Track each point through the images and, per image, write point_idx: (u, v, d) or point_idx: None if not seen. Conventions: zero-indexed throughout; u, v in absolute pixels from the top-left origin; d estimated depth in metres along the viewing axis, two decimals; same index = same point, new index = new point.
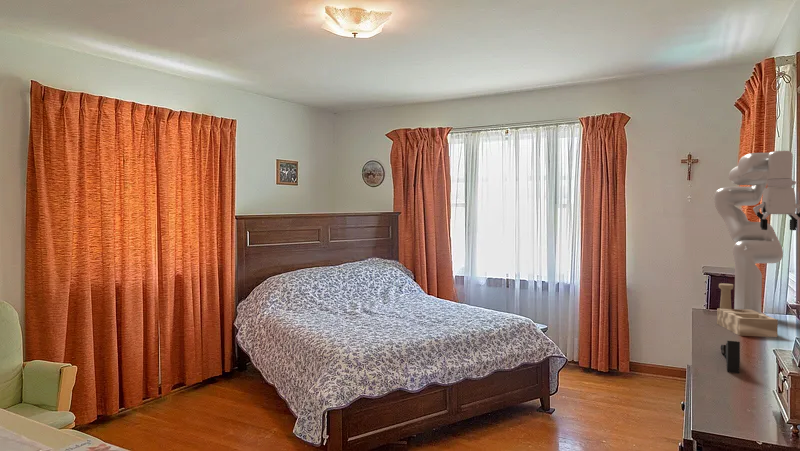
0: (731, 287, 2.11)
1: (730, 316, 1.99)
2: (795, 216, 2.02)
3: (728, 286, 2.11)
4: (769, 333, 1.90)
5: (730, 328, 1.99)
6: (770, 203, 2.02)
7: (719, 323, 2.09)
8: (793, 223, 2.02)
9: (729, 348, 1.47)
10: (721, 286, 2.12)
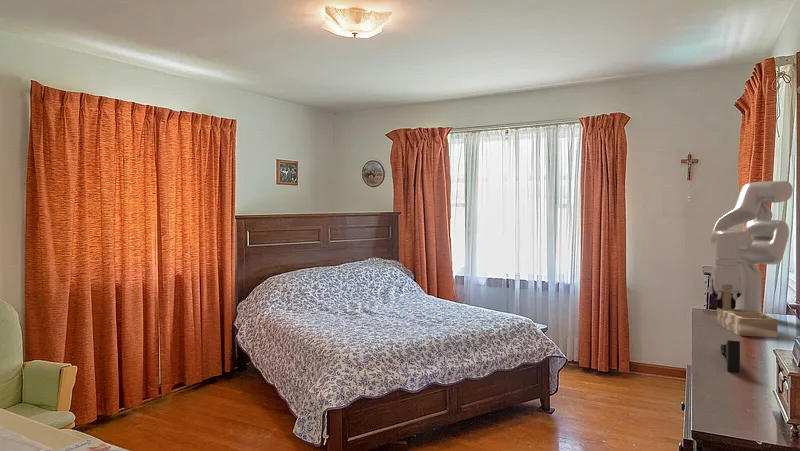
0: (731, 287, 2.11)
1: (730, 316, 1.99)
2: (734, 296, 2.12)
3: (728, 286, 2.11)
4: (769, 333, 1.90)
5: (730, 328, 1.99)
6: (718, 281, 2.12)
7: (719, 323, 2.09)
8: (732, 303, 2.13)
9: (729, 348, 1.47)
10: None
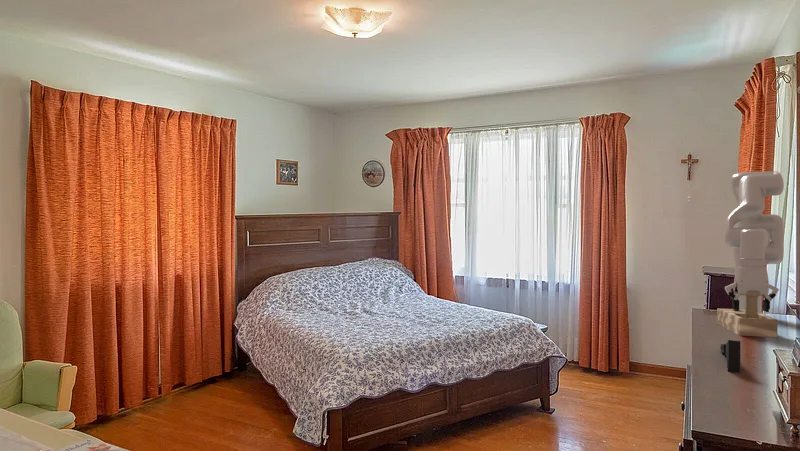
0: (758, 294, 1.93)
1: (730, 316, 1.99)
2: (768, 297, 1.94)
3: (755, 293, 1.93)
4: (769, 333, 1.90)
5: (730, 328, 1.99)
6: (742, 283, 1.94)
7: (719, 323, 2.09)
8: (766, 304, 1.94)
9: (730, 347, 1.48)
10: (747, 293, 1.94)
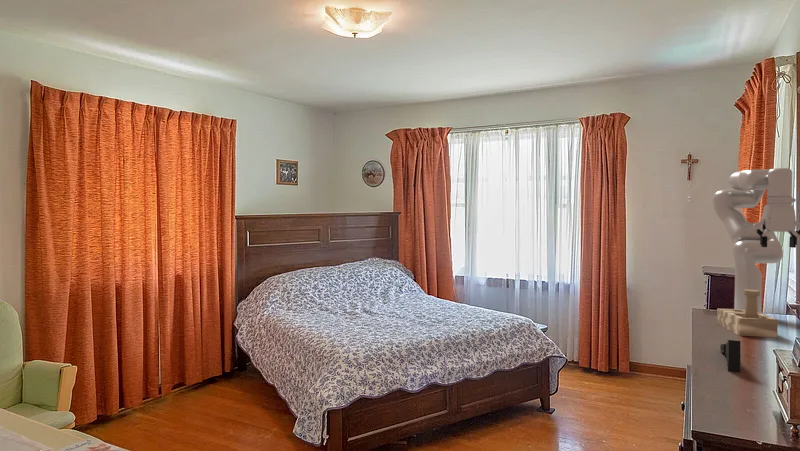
0: (758, 293, 1.93)
1: (730, 316, 1.99)
2: (795, 233, 2.02)
3: (754, 292, 1.93)
4: (769, 333, 1.90)
5: (730, 328, 1.99)
6: (770, 220, 2.02)
7: (719, 323, 2.09)
8: (793, 240, 2.02)
9: (730, 347, 1.48)
10: (747, 292, 1.94)
